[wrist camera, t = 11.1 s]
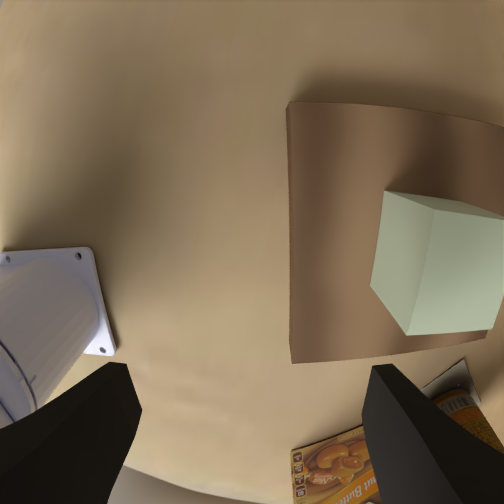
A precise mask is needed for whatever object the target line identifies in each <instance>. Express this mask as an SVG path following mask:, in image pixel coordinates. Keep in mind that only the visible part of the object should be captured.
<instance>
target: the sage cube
mask: <svg viewBox="0 0 504 504" xmlns="http://www.w3.org/2000/svg"><path fill="white" fill-rule="evenodd" d="M370 286H371V288H372V289H373V290H374V292H375V293H376V294H377V296H378V297H379V298H380V300H381V301H382V302H383V304H384V305H385V307H386V308H387V309H388V311H389V312H390V313H391V315H392V316H393V317H394V319H395V320H396V322H397V323H398V324H399V326H400V327H401V329H402V330H403V331H404V333H405V334H406V336H408V335H426V334H442V333H455V332H467V331H477V330H487V329H492V328H493V325H494V322H495V320H496V317H497V314H498V311H499V308H500V305H501V302H502V299H503V295H504V217H503V216H501V215H498V214H495V213H493V212H490V211H487V210H484V209H482V208H479V207H476V206H473V205H470V204H467V203H464V202H460V201H454V200H448V199H442V198H435V197H429V196H422V195H415V194H407V193H400V192H392V191H384V195H383V204H382V212H381V220H380V227H379V234H378V241H377V247H376V253H375V260H374V265H373V271H372V277H371V282H370Z"/></svg>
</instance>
